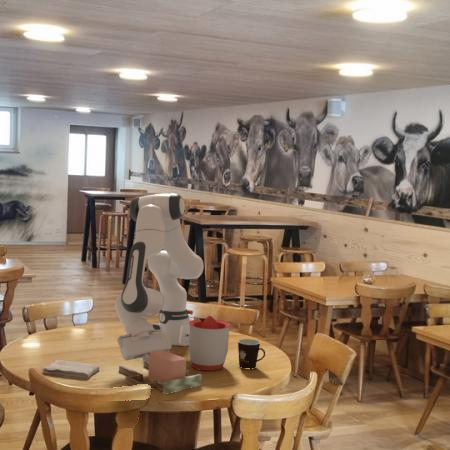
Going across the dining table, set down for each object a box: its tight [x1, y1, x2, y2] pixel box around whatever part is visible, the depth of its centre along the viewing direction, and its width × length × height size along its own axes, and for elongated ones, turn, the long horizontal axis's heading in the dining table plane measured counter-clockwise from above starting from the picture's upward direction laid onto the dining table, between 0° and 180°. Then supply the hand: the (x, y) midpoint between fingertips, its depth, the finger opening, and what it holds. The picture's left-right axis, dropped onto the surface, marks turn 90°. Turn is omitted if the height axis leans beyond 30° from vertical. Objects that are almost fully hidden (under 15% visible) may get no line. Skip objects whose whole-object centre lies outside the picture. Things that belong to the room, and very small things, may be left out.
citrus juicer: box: [188, 315, 231, 371], centre depth 261 cm, size 16×17×20 cm
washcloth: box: [42, 359, 100, 380], centre depth 245 cm, size 12×18×3 cm, turn 79°
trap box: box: [118, 360, 202, 395], centre depth 243 cm, size 24×29×4 cm
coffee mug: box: [237, 338, 266, 370], centre depth 262 cm, size 12×9×10 cm
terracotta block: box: [147, 350, 187, 382], centre depth 239 cm, size 6×13×10 cm, turn 44°
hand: (154, 365), depth 244 cm, fingers closed
